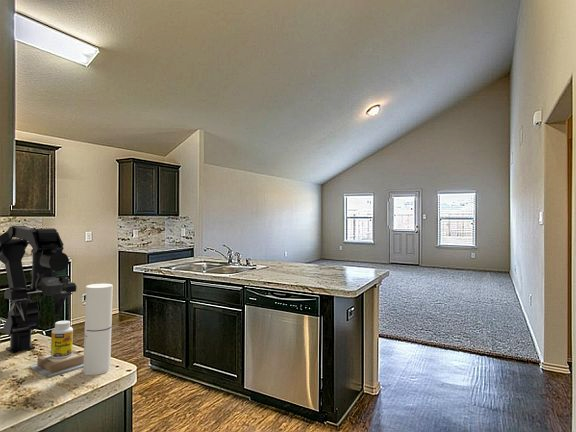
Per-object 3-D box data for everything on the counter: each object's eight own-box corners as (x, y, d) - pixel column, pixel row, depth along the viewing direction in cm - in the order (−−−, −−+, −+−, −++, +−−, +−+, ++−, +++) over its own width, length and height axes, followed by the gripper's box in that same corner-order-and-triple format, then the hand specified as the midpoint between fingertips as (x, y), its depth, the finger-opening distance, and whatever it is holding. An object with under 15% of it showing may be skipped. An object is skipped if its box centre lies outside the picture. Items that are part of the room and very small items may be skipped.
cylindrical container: (97, 376, 108) (100, 288, 109) (77, 372, 110) (80, 286, 111) (115, 367, 115) (118, 284, 115) (96, 364, 117) (99, 282, 117)
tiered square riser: (29, 367, 113) (29, 357, 113) (70, 356, 123) (71, 346, 123) (48, 378, 106) (49, 366, 106) (91, 364, 116) (91, 354, 116)
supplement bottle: (51, 360, 111) (52, 325, 111) (50, 354, 115) (51, 321, 116) (72, 357, 114) (74, 323, 114) (71, 351, 119) (72, 318, 119)
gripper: (20, 273, 108) (18, 329, 108) (86, 267, 124) (84, 316, 123) (4, 269, 114) (2, 322, 114) (68, 264, 130) (67, 310, 130)
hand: (41, 317), depth 120 cm, fingers open, 9 cm apart
